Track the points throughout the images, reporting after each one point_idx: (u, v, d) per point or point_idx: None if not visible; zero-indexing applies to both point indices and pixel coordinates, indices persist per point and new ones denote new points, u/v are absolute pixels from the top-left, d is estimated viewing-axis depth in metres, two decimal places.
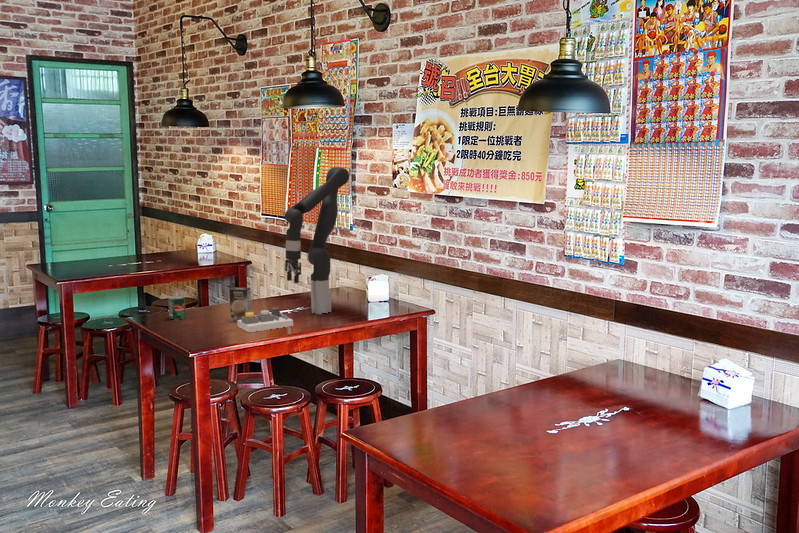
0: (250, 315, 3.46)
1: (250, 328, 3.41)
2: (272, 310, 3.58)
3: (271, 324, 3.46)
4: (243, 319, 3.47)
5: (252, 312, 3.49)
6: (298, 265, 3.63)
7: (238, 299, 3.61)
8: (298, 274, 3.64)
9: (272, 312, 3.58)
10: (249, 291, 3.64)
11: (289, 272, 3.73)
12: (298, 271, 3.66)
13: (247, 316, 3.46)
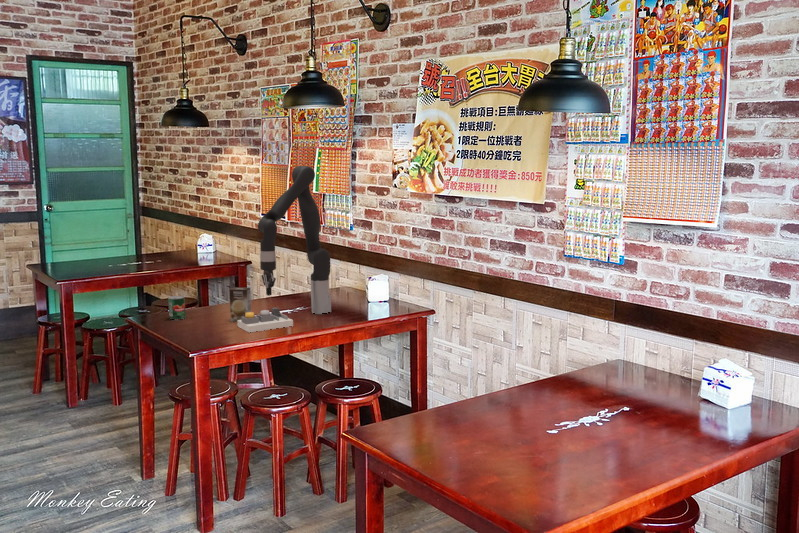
0: (250, 315, 3.46)
1: (250, 328, 3.41)
2: (272, 310, 3.58)
3: (271, 324, 3.46)
4: (243, 319, 3.47)
5: (252, 312, 3.49)
6: (272, 281, 3.58)
7: (238, 300, 3.61)
8: (270, 286, 3.60)
9: (272, 312, 3.58)
10: (249, 291, 3.64)
11: None
12: None
13: (247, 316, 3.46)
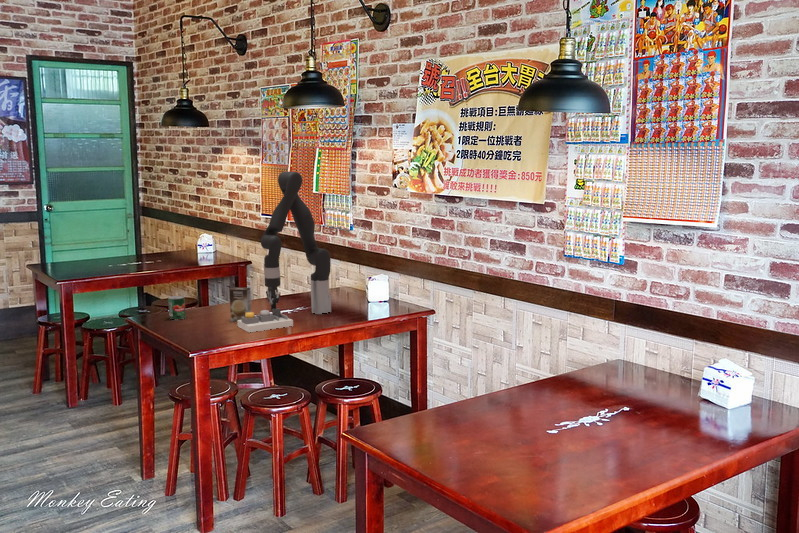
0: (250, 315, 3.46)
1: (250, 328, 3.41)
2: (273, 310, 3.57)
3: (271, 324, 3.46)
4: (243, 319, 3.47)
5: (252, 312, 3.49)
6: (276, 297, 3.55)
7: (238, 300, 3.61)
8: (275, 303, 3.58)
9: (273, 312, 3.57)
10: (249, 291, 3.64)
11: None
12: None
13: (247, 316, 3.46)
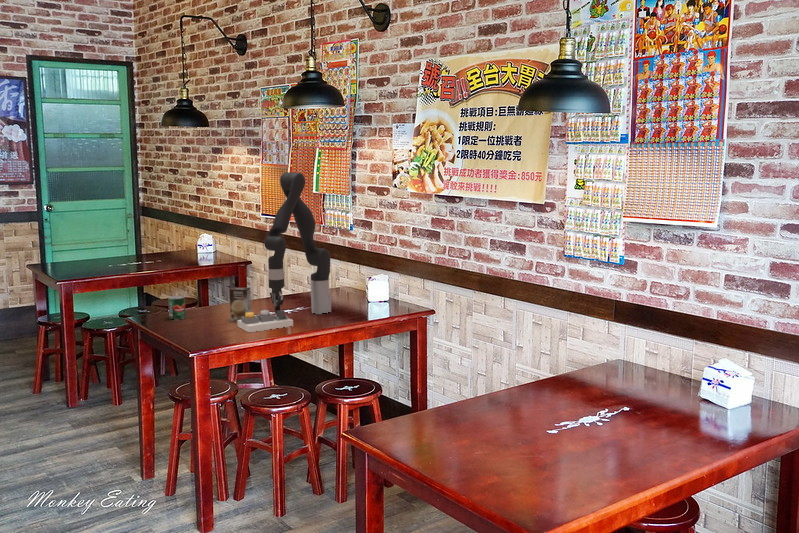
0: (250, 315, 3.46)
1: (250, 328, 3.41)
2: (277, 312, 3.53)
3: (271, 324, 3.46)
4: (243, 319, 3.47)
5: (252, 312, 3.49)
6: (281, 299, 3.51)
7: (238, 300, 3.61)
8: (279, 305, 3.53)
9: (277, 314, 3.53)
10: (249, 291, 3.64)
11: None
12: (280, 302, 3.55)
13: (247, 316, 3.46)
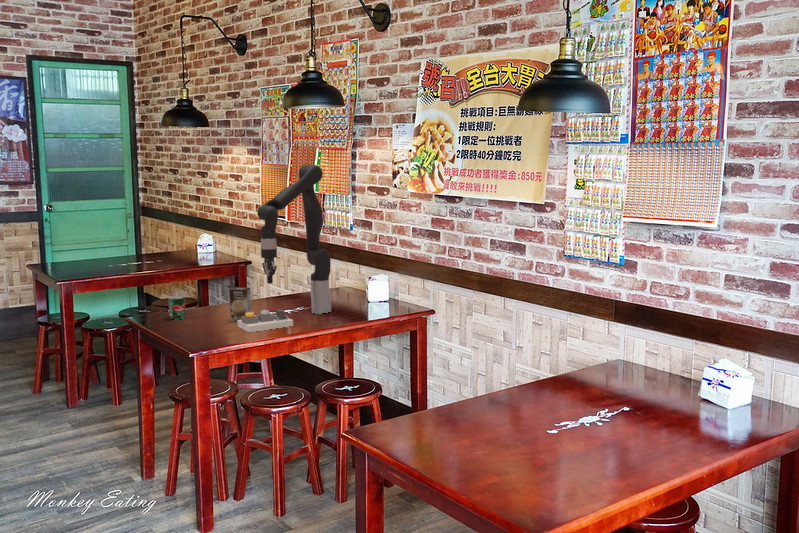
0: (250, 315, 3.46)
1: (250, 328, 3.41)
2: (277, 312, 3.53)
3: (271, 324, 3.46)
4: (243, 319, 3.47)
5: (252, 312, 3.49)
6: (273, 268, 3.52)
7: (238, 300, 3.61)
8: (271, 274, 3.55)
9: (277, 314, 3.53)
10: (249, 291, 3.64)
11: None
12: None
13: (247, 316, 3.46)
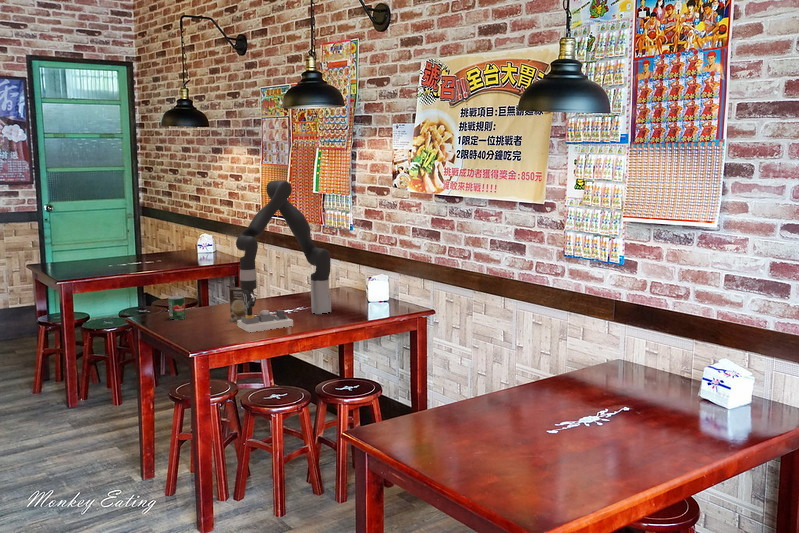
0: (250, 317, 3.46)
1: (250, 328, 3.41)
2: (277, 312, 3.53)
3: (271, 324, 3.46)
4: (243, 319, 3.47)
5: (252, 314, 3.49)
6: (252, 300, 3.42)
7: (238, 300, 3.61)
8: (251, 306, 3.45)
9: (277, 314, 3.53)
10: None
11: None
12: None
13: (247, 318, 3.46)
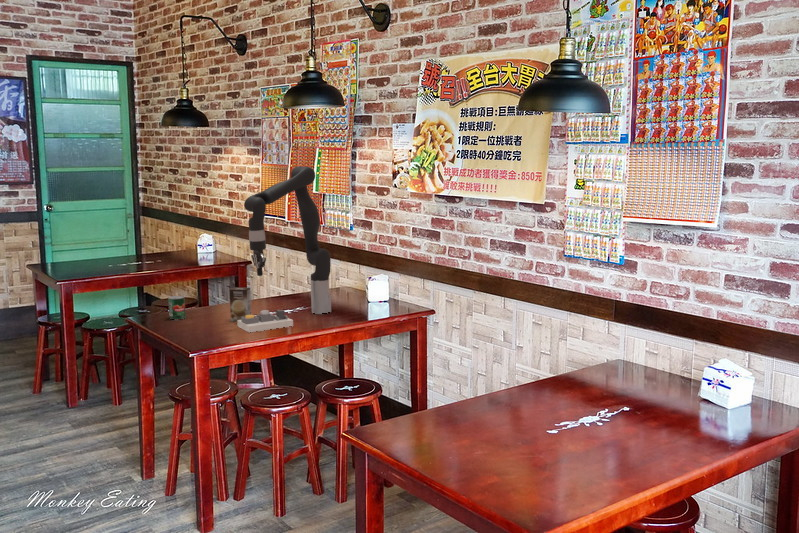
0: None
1: (250, 328, 3.41)
2: (277, 312, 3.53)
3: (271, 324, 3.46)
4: (243, 319, 3.47)
5: (252, 315, 3.49)
6: (262, 261, 3.46)
7: (238, 300, 3.61)
8: (261, 267, 3.49)
9: (277, 314, 3.53)
10: (249, 291, 3.64)
11: None
12: (262, 264, 3.51)
13: None
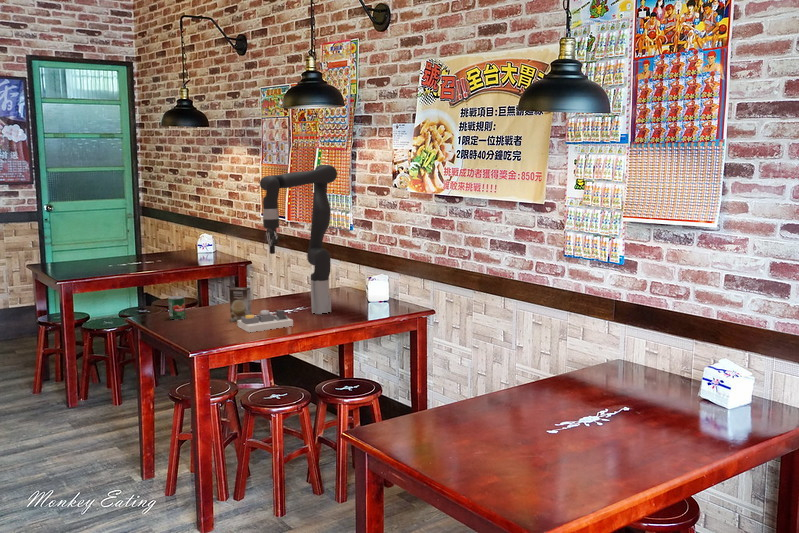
0: None
1: (250, 328, 3.41)
2: (277, 312, 3.53)
3: (271, 324, 3.46)
4: (243, 319, 3.47)
5: (252, 315, 3.49)
6: (275, 238, 3.55)
7: (238, 300, 3.61)
8: (274, 244, 3.58)
9: (277, 314, 3.53)
10: (249, 291, 3.64)
11: None
12: (274, 242, 3.59)
13: None
